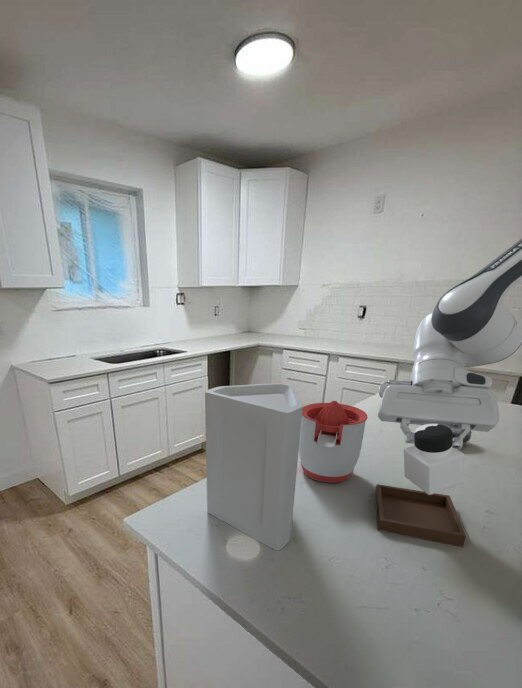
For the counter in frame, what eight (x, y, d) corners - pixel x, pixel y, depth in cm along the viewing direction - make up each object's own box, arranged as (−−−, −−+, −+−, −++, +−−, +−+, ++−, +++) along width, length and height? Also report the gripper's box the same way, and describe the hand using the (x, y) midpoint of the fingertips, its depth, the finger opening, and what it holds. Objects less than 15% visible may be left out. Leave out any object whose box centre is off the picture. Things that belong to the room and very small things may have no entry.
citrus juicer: (287, 484, 91) (293, 409, 83) (301, 455, 105) (307, 389, 97) (354, 497, 84) (368, 417, 77) (359, 464, 99) (370, 394, 91)
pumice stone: (458, 458, 105) (474, 441, 109) (462, 437, 101) (479, 420, 105) (421, 445, 113) (438, 430, 117) (423, 425, 109) (441, 410, 113)
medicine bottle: (463, 483, 69) (466, 430, 64) (429, 496, 69) (429, 444, 64) (435, 465, 76) (436, 415, 70) (403, 476, 76) (402, 427, 70)
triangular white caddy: (316, 517, 78) (331, 392, 67) (278, 551, 69) (288, 413, 58) (246, 485, 91) (249, 376, 80) (205, 511, 81) (202, 391, 70)
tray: (446, 505, 81) (449, 495, 80) (463, 547, 68) (466, 536, 67) (374, 493, 86) (376, 484, 85) (377, 530, 73) (380, 519, 72)
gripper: (382, 371, 75) (376, 432, 71) (502, 378, 68) (504, 446, 64) (377, 386, 81) (372, 443, 77) (488, 394, 74) (489, 457, 69)
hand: (433, 445), depth 70 cm, fingers closed on medicine bottle, 6 cm apart
